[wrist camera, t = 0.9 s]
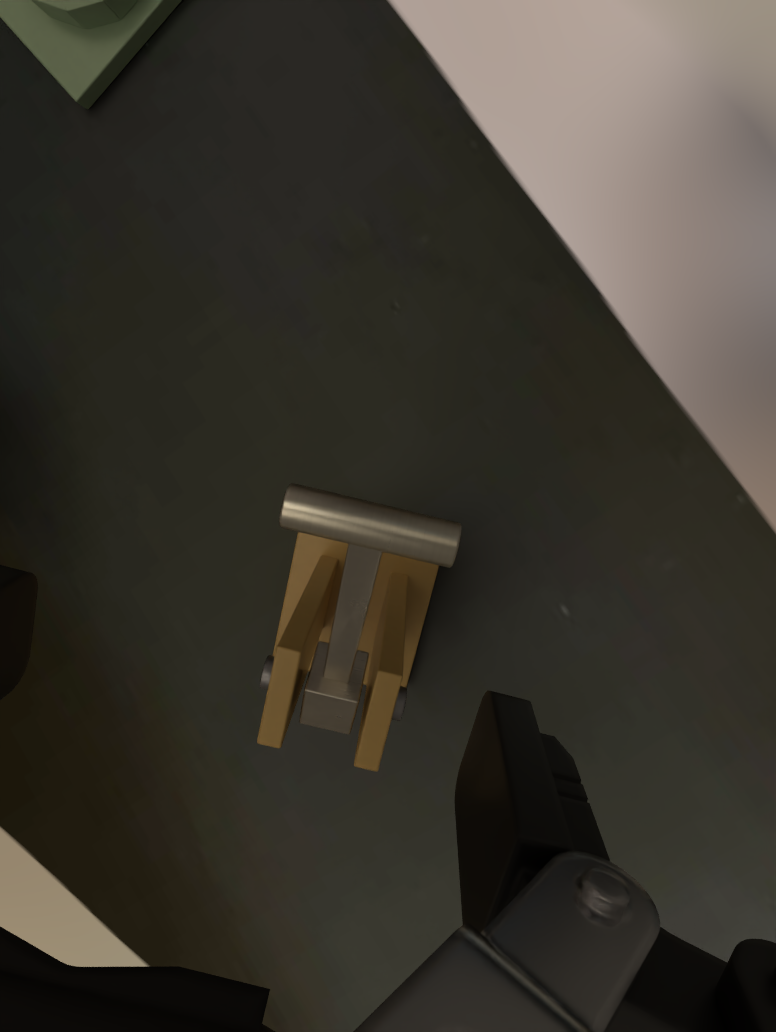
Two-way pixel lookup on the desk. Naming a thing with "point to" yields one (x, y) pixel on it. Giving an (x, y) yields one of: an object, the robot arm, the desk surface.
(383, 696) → the bracket
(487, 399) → the desk surface
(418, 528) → the lever
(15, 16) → the button box
